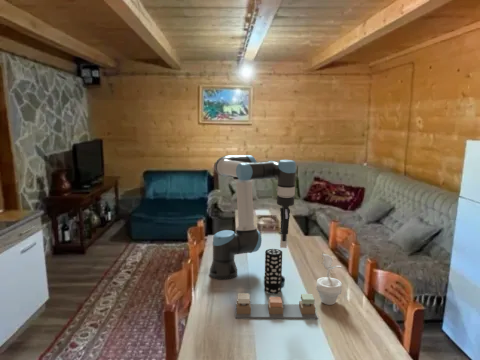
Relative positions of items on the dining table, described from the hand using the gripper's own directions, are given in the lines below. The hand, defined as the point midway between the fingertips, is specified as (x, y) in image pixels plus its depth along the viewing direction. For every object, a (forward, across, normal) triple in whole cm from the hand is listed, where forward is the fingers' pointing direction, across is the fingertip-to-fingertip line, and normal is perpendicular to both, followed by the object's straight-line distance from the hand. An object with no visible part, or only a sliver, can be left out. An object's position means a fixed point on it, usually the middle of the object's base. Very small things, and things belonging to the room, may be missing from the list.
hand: (283, 247), depth 164 cm
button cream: (+25, +8, -17) cm, 32 cm away
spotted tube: (+28, -14, -3) cm, 31 cm away
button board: (+28, +7, -3) cm, 29 cm away
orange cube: (+27, +7, -3) cm, 28 cm away
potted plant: (+28, -2, +23) cm, 36 cm away
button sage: (+25, +7, +11) cm, 28 cm away
